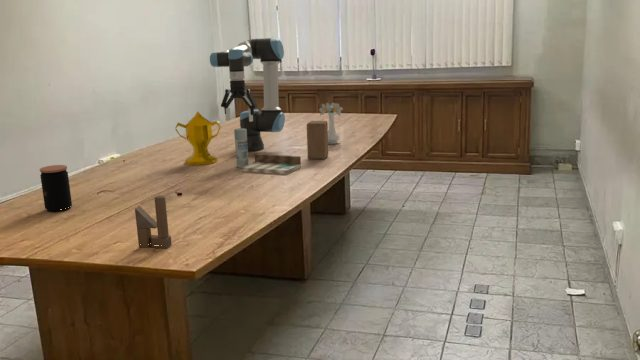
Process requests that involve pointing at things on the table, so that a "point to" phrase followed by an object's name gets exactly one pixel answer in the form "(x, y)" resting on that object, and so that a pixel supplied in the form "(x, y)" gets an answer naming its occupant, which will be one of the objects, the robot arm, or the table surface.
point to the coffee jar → (55, 188)
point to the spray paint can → (241, 147)
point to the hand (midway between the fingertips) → (239, 120)
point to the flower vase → (331, 120)
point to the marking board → (273, 164)
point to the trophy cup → (199, 140)
